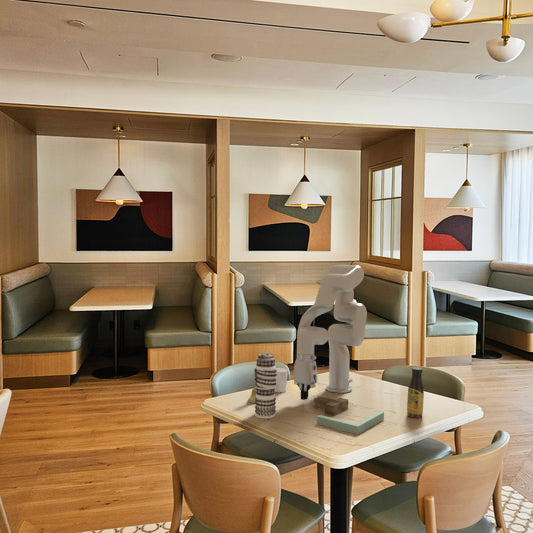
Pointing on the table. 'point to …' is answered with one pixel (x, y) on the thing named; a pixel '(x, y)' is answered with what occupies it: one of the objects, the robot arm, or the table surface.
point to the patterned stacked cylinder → (265, 386)
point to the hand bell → (253, 395)
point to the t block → (331, 405)
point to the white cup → (281, 380)
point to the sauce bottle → (415, 394)
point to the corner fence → (349, 426)
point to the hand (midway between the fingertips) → (304, 399)
